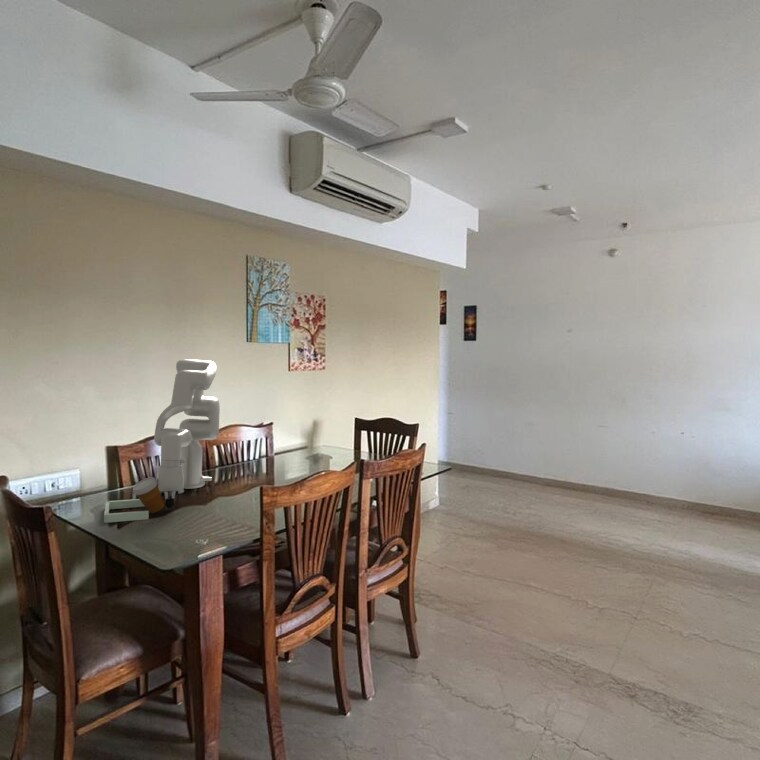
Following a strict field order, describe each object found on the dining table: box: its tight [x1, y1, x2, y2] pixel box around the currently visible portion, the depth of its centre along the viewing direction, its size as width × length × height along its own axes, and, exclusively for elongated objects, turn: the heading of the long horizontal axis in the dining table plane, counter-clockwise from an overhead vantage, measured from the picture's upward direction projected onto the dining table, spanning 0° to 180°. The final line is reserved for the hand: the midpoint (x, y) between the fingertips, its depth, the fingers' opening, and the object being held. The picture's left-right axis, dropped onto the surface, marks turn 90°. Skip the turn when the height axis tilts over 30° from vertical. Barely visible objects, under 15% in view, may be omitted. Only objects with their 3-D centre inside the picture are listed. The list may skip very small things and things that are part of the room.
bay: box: [103, 498, 150, 524], centre depth 205 cm, size 15×16×3 cm
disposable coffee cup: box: [132, 476, 165, 514], centre depth 207 cm, size 10×10×12 cm
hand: (169, 507), depth 211 cm, fingers closed
